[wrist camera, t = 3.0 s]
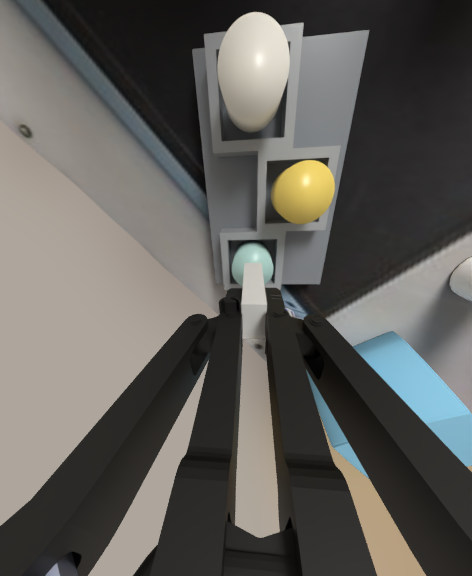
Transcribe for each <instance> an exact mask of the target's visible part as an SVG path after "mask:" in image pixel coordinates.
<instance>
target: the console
mask: <svg viewBox="0 0 472 576" xmlns="http://www.w3.org/2000/svg"><path fill="white" fill-rule="evenodd" d="M303 24H304V23H296V24H287V25H280V26H281V28H282V30H283V32H284V34H285V36H286V39H287V43H288V47H289V54H290V67H289V74H288V79H287V83H286V86H285V89H284V92H283V95H282V98H281V101H280V104H279V107H278V110H277V112H276V114H275V116H274V118H273V119H272V121H271V122H270V123H269V125H267V126H266V127H265V128H264V129H262V130H260V131H258V132H253V133H248V132H244V131H242V130H240V129H239V128H237V127H236V126H235V125H234V124H233V122H232V121H231V119H230V117H229V115H228V112H227V109H226V105H225V102H224V99H223V95H222V92H221V89H220V85H219V81H218V72H217V65H218V55H219V50H220V47H221V44H222V41H223V38H224V36H225V34H226V33H227V31H226V32H217V33H209V34H204V43H205V48H198V49H192V53H193V63H194V73H195V83H196V93H197V103H198V112H199V122H200V132H201V142H202V152H203V161H204V171H205V181H206V191H207V201H208V211H209V220H210V230H211V240H212V250H213V260H214V269H215V279H216V284H224V290H229V289H230V288H243V286H241V285H240V284H238V283H237V282H236V280H235V279H234V277H233V275H232V263H233V259H234V255H235V251H236V249H237V248H238V246H239V245H240V244H242V243H243V242H245V241H248V240H257V241H260V242H262V243H263V244H265V245H266V247H267V248H268V250H269V253H270V256H271V259H272V263H273V275H272V277H271V279H270V280H269V281H268V282H267V283H266V284H265V285H264V286H265V288H278V289H279V290H281V284H320V280H321V275H322V270H323V265H324V260H325V255H326V250H327V245H328V239H329V234H330V229H331V224H332V219H333V214H334V209H335V204H336V198H337V193H338V188H339V183H340V178H341V173H342V168H343V163H344V158H345V152H346V147H347V142H348V137H349V132H350V127H351V122H352V117H353V111H354V106H355V101H356V96H357V91H358V86H359V81H360V76H361V70H362V65H363V60H364V55H365V50H366V45H367V40H368V35H369V30H363V31H354V32H345V33H336V34H327V35H317V36H308V37H302V36H303ZM305 160H315V161H319V162H321V163H323V164H324V165H326V166H327V167H328V168H329V170H330V171H331V173H332V175H333V178H334V183H335V191H334V196H333V199H332V202H331V204H330V206H329V207H328V209H327V210H326V211H325V212H324V214H323V215H321V216H320V217H319V218H318V219H316V220H314V221H312V222H310V223H306V224H295V223H291V222H289V221H287V220H286V219H285V218H283V217H282V216H281V215H280V214H279V213H278V212H277V211H276V210H275V209H274V207H273V205H272V201H271V190H272V186H273V183H274V181H275V180H276V178H277V177H278V176H279V175H280V174H281V173H282V172H283V171H284V170H286V169H288V168H289V167H291V166H293V165H295V164H297V163H299V162H301V161H305Z"/></svg>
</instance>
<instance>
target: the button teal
mask: <svg viewBox="0 0 472 576" xmlns="http://www.w3.org/2000/svg"><path fill="white" fill-rule="evenodd" d="M245 263H262V271H263V278H264V285H265V284H266V283H267V282H268V281H269V280H270V279H271V277H272V275H273V263H272V259H271V256H270V253H269V250H268V248H267V247H266V245H265V244H263V243H262V242H260V241H257V240H248V241H245V242H243V243H242V244H240V245H239V246H238V248H237V249H236V251H235V255H234V259H233V263H232V275H233V277H234V279H235V280H236V282H237V283H238V284H240V285H241V286H243V276H244V264H245Z"/></svg>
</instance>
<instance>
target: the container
mask: <svg viewBox="0 0 472 576" xmlns="http://www.w3.org/2000/svg"><path fill="white" fill-rule="evenodd" d="M353 348H354V349H355V350H356V351H357V352H358V353H359V354H360V355H361V356H362V357H363V359H364V360H365V361H366V362H367V363H368V364H369V365H370V366H371V367H372V368H373V369H374V370H375V371H376V372H377V373H378V374H379V375H380V376H381V377H382V379H383V380H384V381H385V382H386V383H387V384H388V385H389V386H390V387H391V388H392V389H393V390H394V391H395V392H396V393H397V394H398V395H399V396H400V397H401V399H402V400H403V401H404V402H405V403H406V404H407V405H408V406H409V407H410V408H411V409H412V410H413V411H414V412H415V413H416V414H417V415H418V416H419V417H420V419H421V420H422V421H423V422H424V423H425V424H426V425H427V426H428V427H429V428H430V429H431V430H432V431H433V432H434V433H435V434H436V435H437V436H438V437H439V438H440V440H441V441H442V442H443V443H444V444H445V445H446V446H447V447H448V448H449V449H450V450H451V451H452V452H453V453H454V454H455V455H456V456H457V457H458V458H459V460H460V461H461V462H462V463H463V464H464V465H465V466H466V467H467V466H472V414H471V412H470V411H469V410H468V409H467V407H466V406H465V405H464V404H463V403H462V402H461V401H460V399H459V398H458V397H457V396H456V395H455V394H454V393H453V392H452V390H451V389H450V388H449V387H448V386H447V385H446V384H445V383H444V382H443V380H442V379H441V378H440V377H439V376H438V375H437V374H436V373H435V372H434V370H433V369H432V368H431V367H430V366H429V365H428V364H427V363H426V362H425V361H424V360H423V359H422V358H421V357H420V356H419V355H418V354H417V353H416V352H415V351H414V349H413V348H412V347H411V346H410V345H409V344H408V343H407V342H405V341H404V340H403V339H402V338H401V337H400V336H399V335H397V334H396V333H395V332H394V331H391V332H388V333H385V334H382V335H380V336H377V337H375V338H373V339H370V340H368V341H365V342H363V343H361V344H358V345H356V346H353ZM306 371H307V370H306ZM307 375H308V378H309V382H310V385H311V388H312V392H313V395H314V399H315V402H316V405H317V408H318V411H319V413H320V416H321V419H322V421H323V424H324V427H325V429H326V432H327V435H328V437H329V440H330V442H331V445H332V447H334V449H335V450H336V451H338V452H339V453H340V454H341V455H342V456H343V457H344V458H345V459H346V460H347V461H349V462H350V463H351V464H352V465H353V466H354V467H355V468H357V469H358V470H359V471H360V472H361V473H363V474H364V475H365V476H366V477H367V478H369V477H368V475H367V474H366V472H365V470H364V468H363V467H362V465H361V463H360V462H359V460H358V458H357V456H356V455H355V453H354V451H353V449H352V448H351V446H350V444H349V443H348V441H347V439H346V437H345V436H344V434H343V432H342V430H341V429H340V427H339V425H338V424H337V422H336V420H335V418H334V417H333V415H332V413H331V411H330V410H329V408H328V406H327V405H326V403H325V401H324V399H323V398H322V396H321V394H320V392H319V391H318V389H317V387H316V386H315V384H314V382H313V380H312V379H311V377H310V375H309V373H308V372H307Z"/></svg>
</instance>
